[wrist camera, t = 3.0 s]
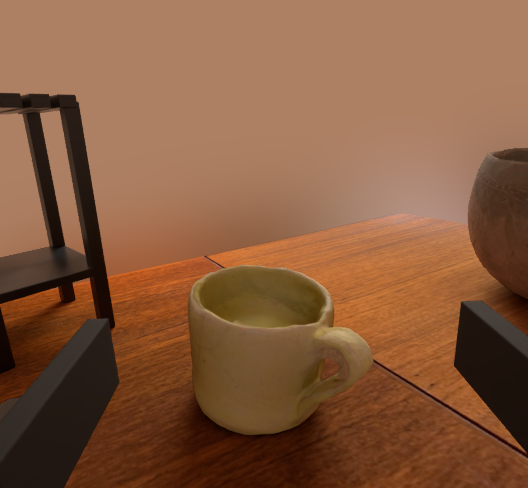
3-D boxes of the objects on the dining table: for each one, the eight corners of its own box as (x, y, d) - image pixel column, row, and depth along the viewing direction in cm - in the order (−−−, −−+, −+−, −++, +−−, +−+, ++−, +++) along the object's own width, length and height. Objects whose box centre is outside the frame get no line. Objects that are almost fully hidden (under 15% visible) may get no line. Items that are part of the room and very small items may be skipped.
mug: (140, 367, 28) (179, 239, 25) (252, 355, 34) (292, 253, 32) (223, 527, 19) (296, 354, 16) (352, 469, 26) (418, 340, 23)
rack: (-1, 374, 31) (-79, 90, 25) (-32, 329, 38) (-97, 101, 32) (116, 327, 38) (78, 94, 32) (71, 296, 45) (33, 103, 39)
